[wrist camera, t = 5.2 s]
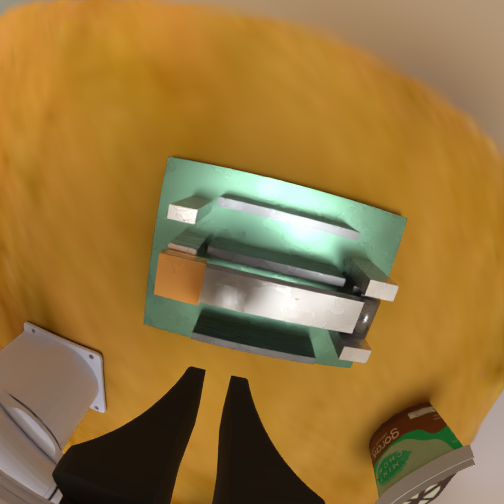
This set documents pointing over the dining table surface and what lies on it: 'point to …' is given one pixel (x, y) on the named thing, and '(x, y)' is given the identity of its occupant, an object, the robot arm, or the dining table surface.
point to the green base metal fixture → (270, 256)
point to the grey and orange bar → (261, 295)
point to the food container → (416, 456)
